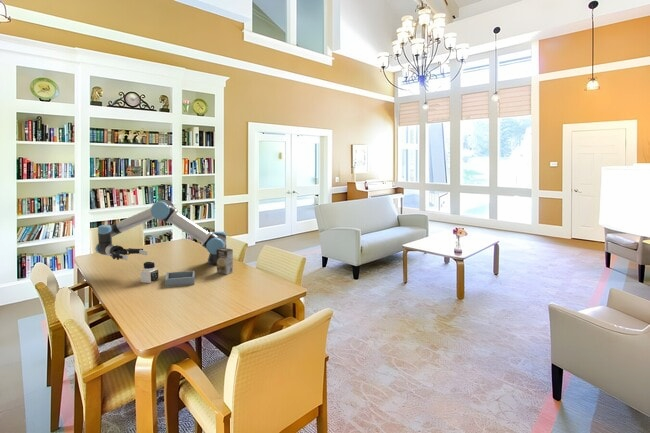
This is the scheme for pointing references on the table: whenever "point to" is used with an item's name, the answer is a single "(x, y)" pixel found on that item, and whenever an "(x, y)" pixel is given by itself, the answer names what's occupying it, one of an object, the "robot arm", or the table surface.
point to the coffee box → (224, 261)
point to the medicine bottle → (149, 273)
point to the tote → (180, 278)
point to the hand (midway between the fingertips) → (137, 255)
